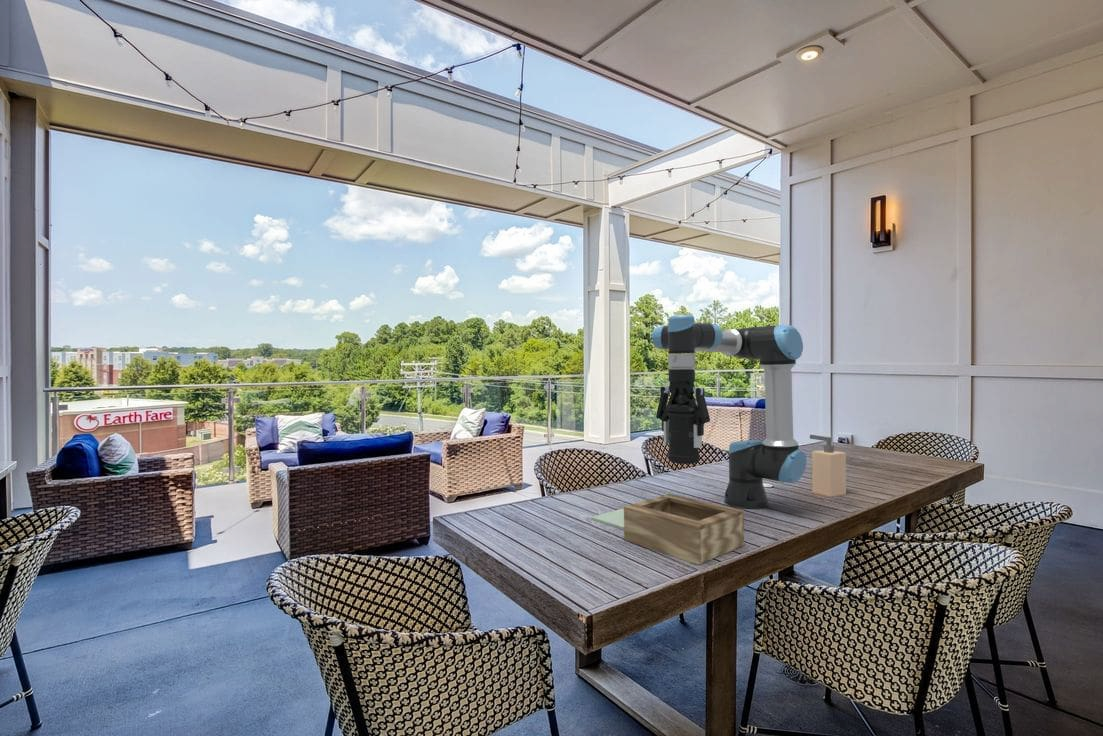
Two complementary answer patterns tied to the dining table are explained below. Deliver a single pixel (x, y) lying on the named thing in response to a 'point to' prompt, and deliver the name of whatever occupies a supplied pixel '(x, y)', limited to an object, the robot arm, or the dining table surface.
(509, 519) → the dining table surface
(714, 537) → the crate
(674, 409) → the black shaker bottle
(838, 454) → the soap dispenser
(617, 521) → the board
